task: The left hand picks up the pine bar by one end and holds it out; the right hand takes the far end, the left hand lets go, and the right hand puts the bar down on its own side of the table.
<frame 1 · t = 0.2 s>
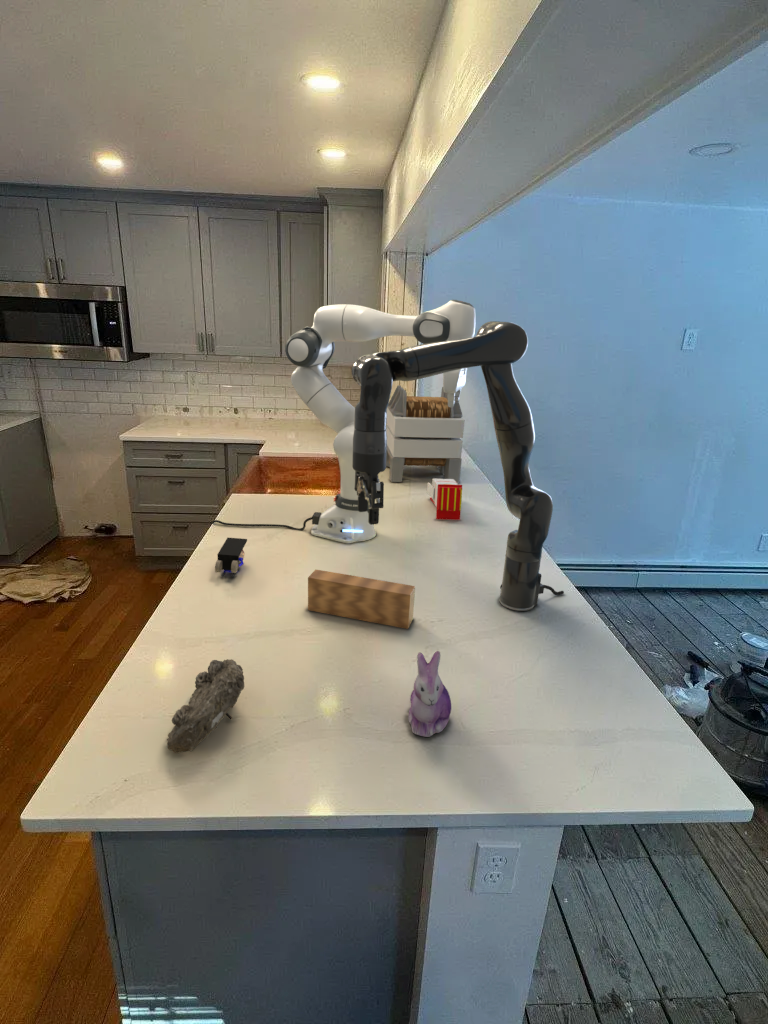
left hand: (453, 404, 174), 48 cm above the counter, tool pointing down, fingers open, 8 cm apart
right hand: (367, 517, 131), 29 cm above the counter, tool pointing down, fingers open, 8 cm apart
fossil: (212, 717, 108), on the counter
figurine: (428, 722, 109), on the counter
toy: (443, 508, 228), on the counter
figurine character: (232, 569, 168), on the counter
bar: (360, 614, 146), on the counter
transformer: (419, 473, 275), on the counter
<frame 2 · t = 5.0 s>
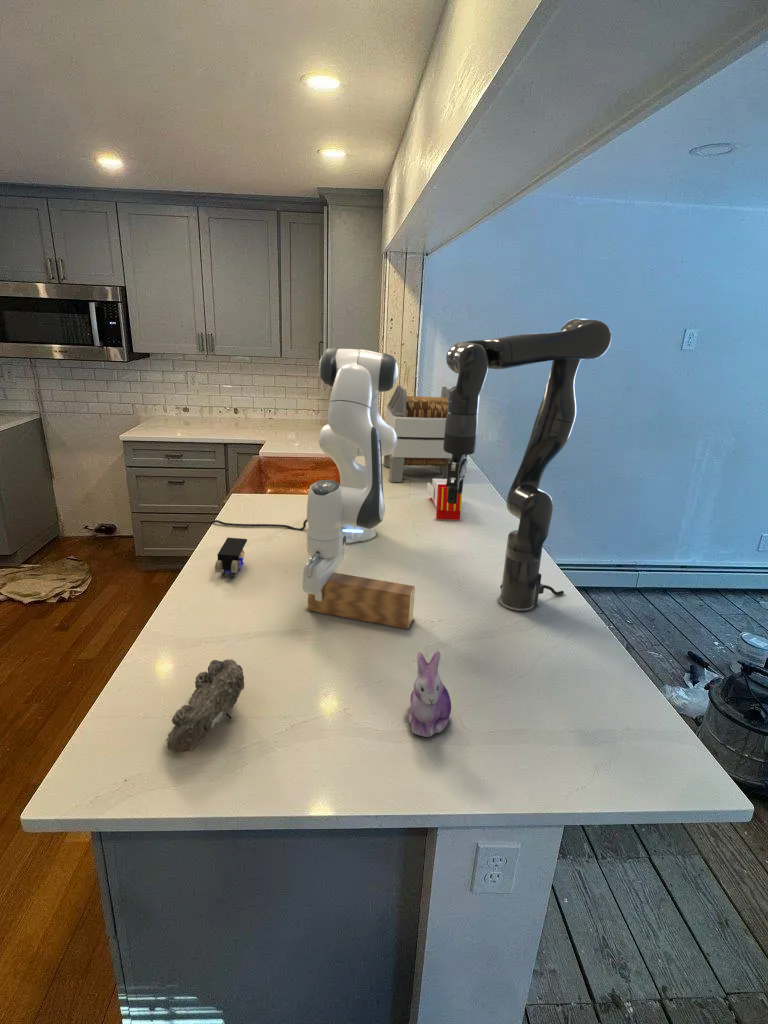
left hand: (324, 593, 147), 4 cm above the counter, tool pointing down, fingers closed on bar, 5 cm apart
right hand: (454, 497, 137), 32 cm above the counter, tool pointing down, fingers open, 8 cm apart
bar: (360, 614, 146), on the counter, touching left hand
everything else where it was.
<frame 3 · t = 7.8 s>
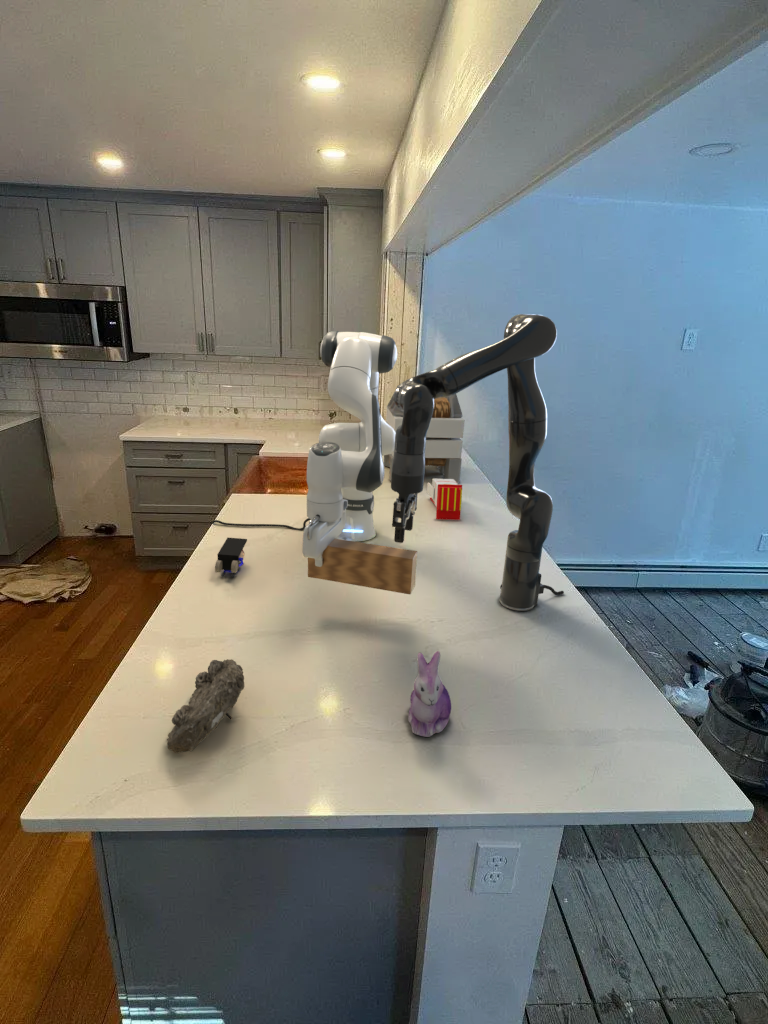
left hand: (324, 560, 144), 14 cm above the counter, tool pointing down, fingers closed on bar, 5 cm apart
right hand: (403, 535, 136), 24 cm above the counter, tool pointing down, fingers open, 8 cm apart
bar: (361, 581, 143), point 10 cm above the counter, touching left hand
everything else where it was.
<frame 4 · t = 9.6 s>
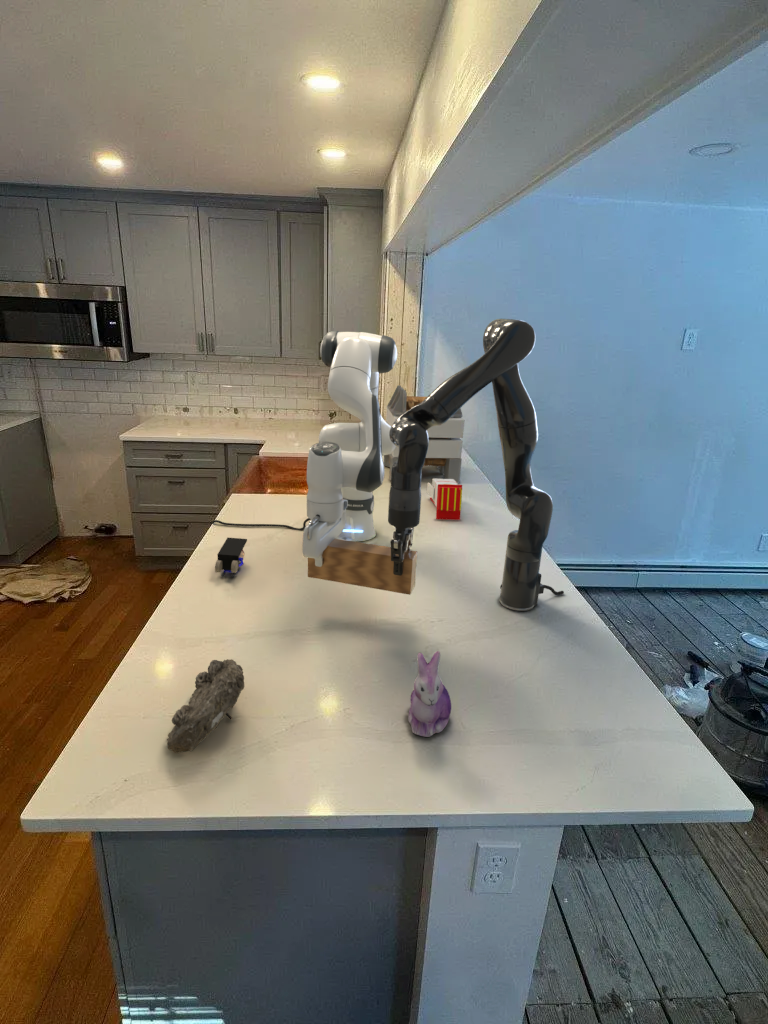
left hand: (324, 560, 144), 14 cm above the counter, tool pointing down, fingers closed on bar, 5 cm apart
right hand: (400, 569, 139), 15 cm above the counter, tool pointing down, fingers closed on bar, 5 cm apart
bar: (361, 581, 143), point 10 cm above the counter, touching left hand, right hand
everything else where it was.
when the left hand's fingers open (14 cm above the counter, at t = 10.6 s): bar stays where it is, held by the right hand.
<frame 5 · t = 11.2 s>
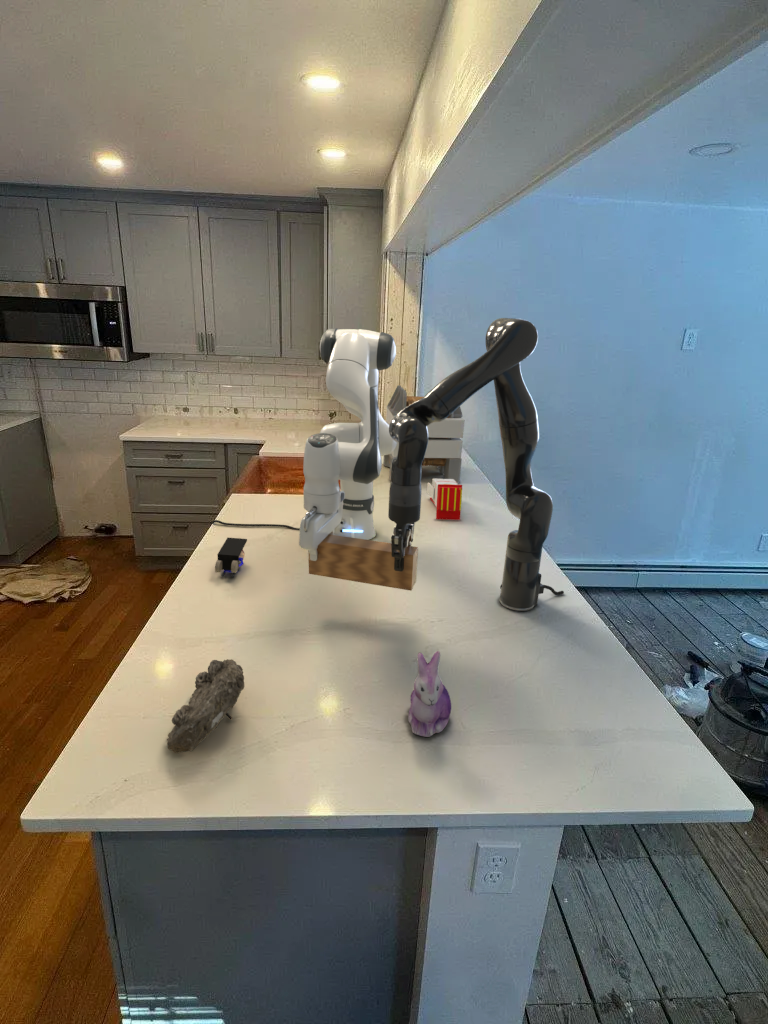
left hand: (321, 552, 144), 16 cm above the counter, tool pointing down, fingers open, 8 cm apart
right hand: (401, 565, 139), 16 cm above the counter, tool pointing down, fingers closed on bar, 5 cm apart
bar: (362, 577, 143), point 11 cm above the counter, touching right hand
everything else where it was.
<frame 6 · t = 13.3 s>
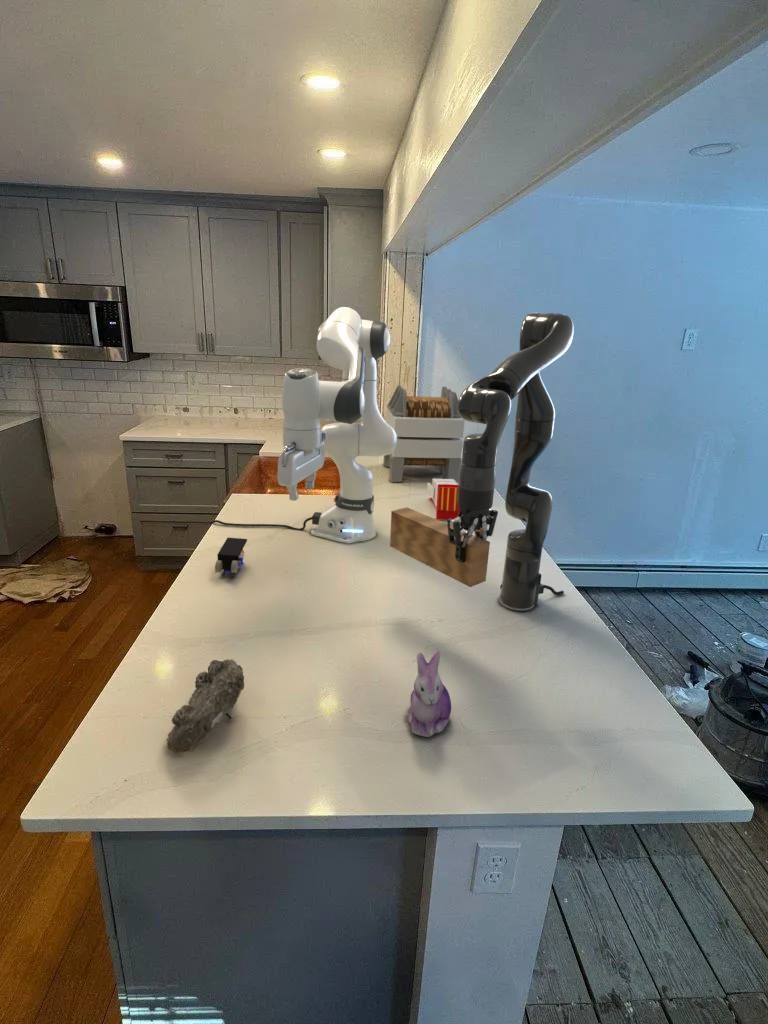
left hand: (302, 494, 140), 31 cm above the counter, tool pointing down, fingers open, 8 cm apart
right hand: (469, 557, 125), 24 cm above the counter, tool pointing down, fingers closed on bar, 5 cm apart
bar: (434, 562, 134), point 19 cm above the counter, touching right hand
everything else where it was.
when the right hand's fingers open (7 cm above the counter, at t = 17.1 s): bar drops 2 cm, on the counter.
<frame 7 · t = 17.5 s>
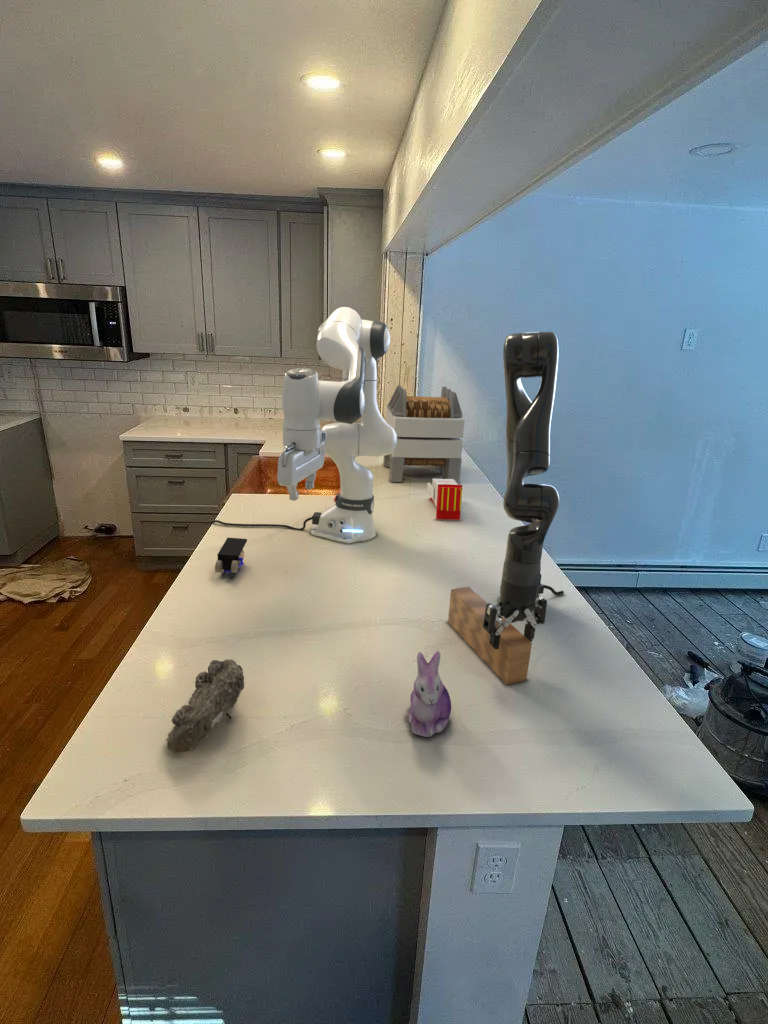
left hand: (302, 494, 140), 31 cm above the counter, tool pointing down, fingers open, 8 cm apart
right hand: (511, 644, 123), 7 cm above the counter, tool pointing down, fingers open, 8 cm apart
bar: (483, 648, 134), on the counter
everything else where it was.
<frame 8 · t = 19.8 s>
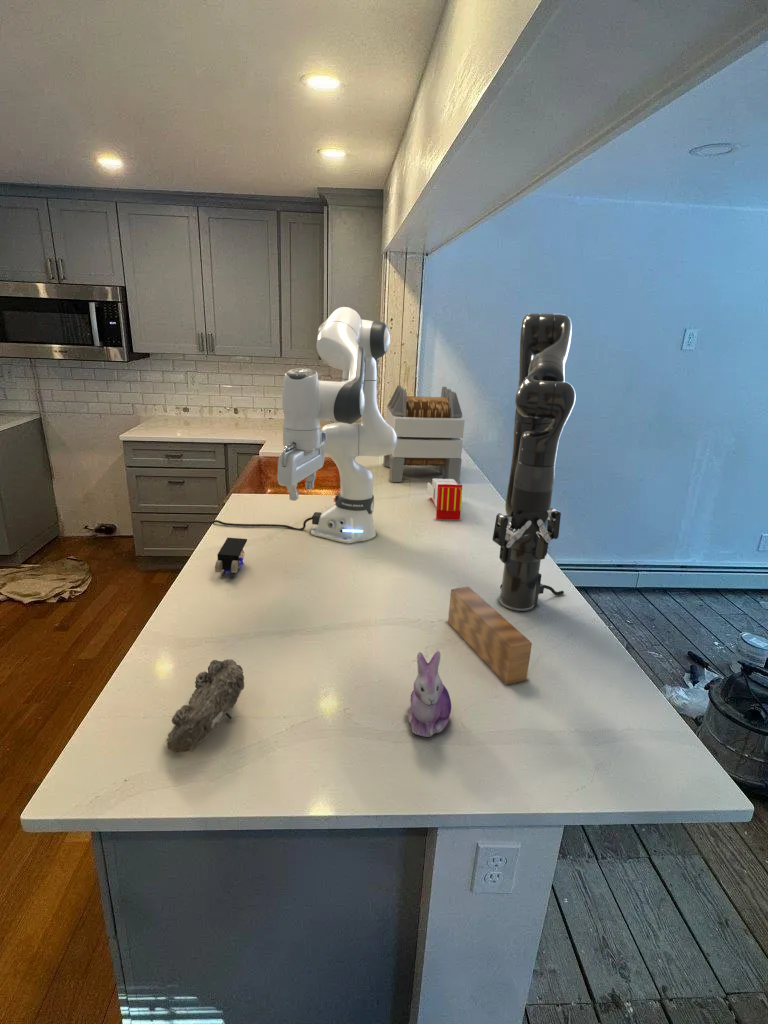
left hand: (302, 494, 140), 31 cm above the counter, tool pointing down, fingers open, 8 cm apart
right hand: (522, 560, 116), 27 cm above the counter, tool pointing down, fingers open, 8 cm apart
nothing on the counter moved.
at the end: bar inside the target area (9.8 cm from its centre), on the counter; the left hand is holding nothing; the right hand is holding nothing; bar at rest at the end (0.0 cm/s) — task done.
